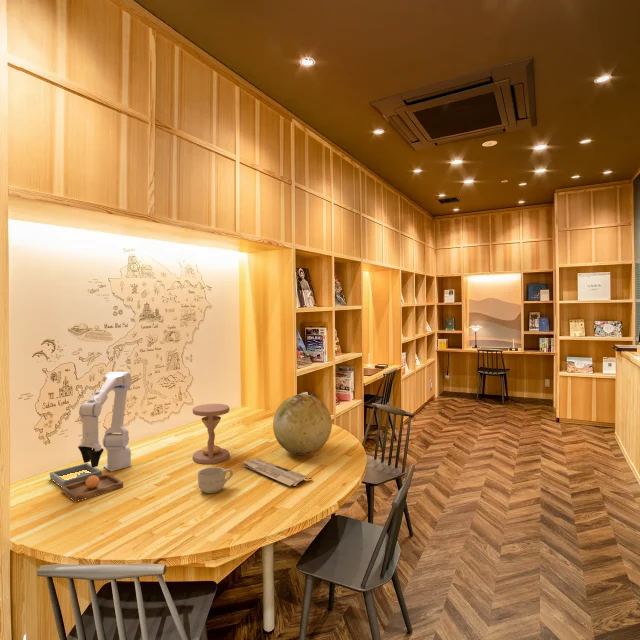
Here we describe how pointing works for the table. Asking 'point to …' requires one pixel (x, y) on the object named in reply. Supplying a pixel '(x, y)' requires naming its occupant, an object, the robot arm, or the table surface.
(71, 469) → the dish
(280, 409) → the olive sphere
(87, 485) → the ball
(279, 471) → the newspaper
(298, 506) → the table surface
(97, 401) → the robot arm
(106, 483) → the tray
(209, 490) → the teacup
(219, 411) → the hourglass
